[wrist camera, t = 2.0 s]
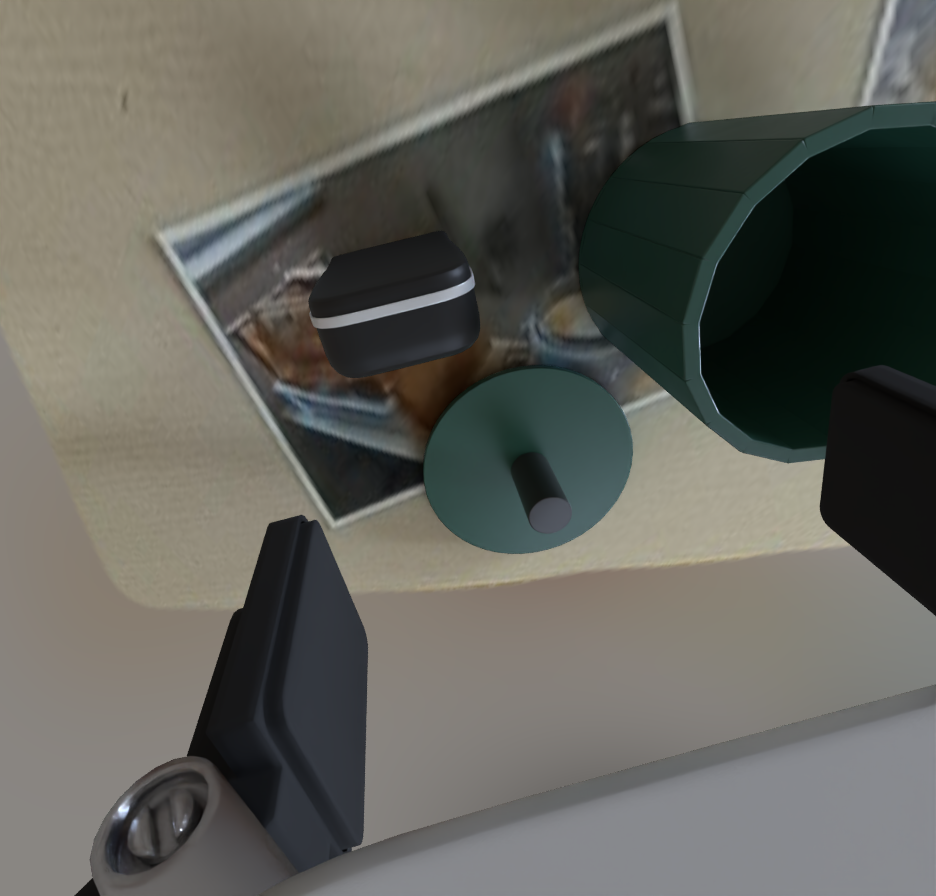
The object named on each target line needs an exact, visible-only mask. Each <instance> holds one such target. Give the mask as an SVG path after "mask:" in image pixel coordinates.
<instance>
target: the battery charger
mask: <svg viewBox="0 0 936 896" xmlns="http://www.w3.org/2000/svg"><path fill="white" fill-rule="evenodd" d="M474 285H475V281H474V276H473V272H472V270H471V268H470V266H469V264H468V261H467V259H466V257H465V255H464V254H463V253H462V251H461V250H460V249H459V248H458V247H457V246H456V245H455V244H454V243H453V242H452V241H450V240H449V238H448V236H447V234H446V233H445V232H444V231H436V232H432V233H428V234H424V235H420V236H415V237H411V238H407V239H403V240H399V241H395V242H391V243H387V244H383V245H379V246H375V247H371V248H367V249H363V250H359V251H355V252H351V253H347V254H343V255H339V256H335V257H333V258H332V259H331V262H330V264H329V266H328V268H327V270H326V271H325V272H324V273H323V275H322V276H321V277H320V279H319V280H318V282H317V283H316V285H315V286H314V288H313V290H312V292H311V295H310V297H309V301H308V302H309V307H310V318H311V321H312V323H313V326H314V327H316V328H317V331H318V334H319V337H320V339H321V342H322V345H323V348H324V351H325V353H326V356H327V358H328V360H329V362H330V365H331V366H332V367H333V368H334V369H335V370H336V371H337V372H338V373H339V374H341V375H343V376H346V377H350V378H361V377H367V376H372V375H376V374H380V373H384V372H388V371H392V370H396V369H401V368H405V367H409V366H413V365H417V364H421V363H425V362H429V361H433V360H437V359H440V358H444V357H448V356H452V355H456V354H458V353H461V352H463V351H465V350H466V349H468V348H470V347H471V346H472V345H473V344H474V342H475V341H476V340H477V338H478V336H479V331H480V317H479V311H478V306H477V301H476V296H475V291H474Z"/></svg>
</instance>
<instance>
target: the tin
mask: <svg viewBox="0 0 936 896" xmlns="http://www.w3.org/2000/svg"><path fill="white" fill-rule="evenodd" d="M579 279H580V286H581V291H582V296H583V299H584V302H585V305H586V307H587V310H588V312H589V314H590V316H591V318H592V320H593V321H594V323H595V324H596V326H597V327H598V328H599V330H600V332H601V334H602V335H603V336H604V337H605V338H606V339H607V340H608V341H610V342H611V343H612V344H613V345H614V346H615V347H617V348H618V349H619V350H620V351H621V352H622V353H623V354H625V355H626V356H627V357H628V358H629V359H630V360H631V361H633V362H634V363H635V364H636V365H637V366H638V367H640V368H641V369H642V370H643V371H644V372H645V373H646V374H648V375H649V376H650V377H651V378H652V379H653V380H655V381H656V382H657V383H658V384H659V385H660V386H661V387H663V388H664V389H665V390H666V391H667V392H668V393H669V394H671V395H672V396H673V397H674V398H675V399H676V400H678V401H679V402H680V403H681V404H682V405H683V406H684V407H686V408H687V409H688V410H689V411H690V412H691V413H693V414H694V415H695V416H696V417H697V418H698V419H699V420H701V421H702V422H703V423H704V424H705V425H706V426H708V427H709V428H710V429H711V430H713V431H714V432H715V433H717V434H718V435H719V436H720V437H722V438H723V439H724V440H726V441H727V442H728V443H729V444H731V445H732V446H733V447H735V448H736V449H737V450H739V451H740V452H742V453H746V454H750V455H755V456H759V457H763V458H767V459H772V460H776V461H780V462H784V463H795V462H803V461H812V460H821V459H825V455H826V446H827V437H828V428H829V419H830V410H831V401H832V393H833V389H834V388H835V386H837V385H838V384H839V383H840V380H841V379H842V377H843V376H844V375H846V374H847V373H851V372H855V371H858V370H862V369H866V368H870V367H874V366H879V365H884V366H889V367H891V368H893V369H896V370H898V371H900V372H903V373H905V374H908V375H910V376H912V377H915V378H917V379H920V380H922V381H924V382H927V383H929V384H932V385H934V386H936V101H935V102H919V103H903V104H888V105H873V106H862V107H851V108H841V109H830V110H820V111H809V112H799V113H788V114H777V115H767V116H756V117H746V118H735V119H725V120H714V121H703V122H693V123H688V124H685V125H683V126H681V127H678V128H675V129H673V130H670V131H667V132H665V133H663V134H661V135H659V136H657V137H655V138H653V139H652V140H650V141H649V142H647V143H646V144H644V145H643V146H641V147H640V148H639V149H637V150H636V151H635V152H634V153H633V154H632V155H630V156H629V157H628V158H627V159H626V160H625V161H624V162H623V163H622V164H621V165H620V166H619V167H618V168H617V170H616V171H615V172H614V173H613V174H612V176H611V177H610V178H609V180H608V181H607V182H606V184H605V185H604V187H603V188H602V190H601V192H600V193H599V195H598V197H597V199H596V200H595V202H594V204H593V207H592V209H591V211H590V214H589V216H588V218H587V221H586V225H585V228H584V231H583V235H582V240H581V246H580V251H579Z"/></svg>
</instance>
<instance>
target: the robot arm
mask: <svg viewBox="0 0 936 896" xmlns="http://www.w3.org/2000/svg"><path fill="white" fill-rule="evenodd" d="M820 512H821V516H822V518H823V520H824V522H825V523H826V524H827V525H828V526H829V527H830V528H831V529H832V530H833V531H834V532H836V533H837V534H838V535H839V536H840V537H842V538H843V539H844V540H845V541H846V542H848V543H849V544H850V545H851V546H852V547H854V548H855V549H856V550H857V551H858V552H860V553H861V554H862V555H863V556H865V557H866V558H867V559H868V560H869V561H871V562H872V563H873V564H874V565H875V566H876V567H878V568H879V569H880V570H881V571H883V572H884V573H885V574H886V575H887V576H889V577H890V578H891V579H892V580H893V581H895V582H896V583H897V584H898V585H899V586H900V587H902V588H903V589H904V590H905V591H906V592H908V593H909V594H910V595H911V596H912V597H914V598H915V599H916V600H917V601H919V602H920V603H921V604H922V605H924V606H925V607H926V608H927V609H928V610H929V611H931V612H932V613H933V614H934V615H935V616H936V386H934V385H932V384H929V383H927V382H924V381H922V380H920V379H917V378H915V377H912V376H910V375H908V374H905V373H903V372H900V371H898V370H896V369H893V368H891V367H889V366H884V365H879V366H874V367H870V368H866V369H862V370H858V371H855V372H851V373H847V374H846V375H844V376H843V377H842V379H841V380H840V383H839V384H838V385H837V386H835V388H834V389H833V393H832V401H831V410H830V419H829V428H828V437H827V446H826V455H825V464H824V473H823V482H822V491H821V500H820ZM367 663H368V643H367V637H366V633H365V629H364V626H363V624H362V622H361V619H360V617H359V615H358V612H357V610H356V608H355V605H354V603H353V601H352V598H351V596H350V594H349V591H348V589H347V586H346V584H345V582H344V579H343V577H342V575H341V572H340V570H339V568H338V565H337V563H336V561H335V558H334V556H333V554H332V551H331V549H330V547H329V544H328V542H327V540H326V537H325V535H324V532H323V530H322V528H321V526H320V524H319V522H318V521H317V520H313V521H309V522H308V520H307V519H306V517H305V516H303V515H299V516H295V517H291V518H287V519H284V520H280V521H276V522H272V523H270V524H269V525H268V527H267V531H266V534H265V537H264V540H263V544H262V547H261V550H260V554H259V557H258V560H257V564H256V567H255V570H254V574H253V577H252V580H251V584H250V587H249V590H248V594H247V597H246V600H245V604H244V607H243V608H241V609H238V610H237V611H236V612H235V613H234V614H233V616H232V618H231V620H230V623H229V626H228V629H227V632H226V636H225V639H224V642H223V645H222V648H221V651H220V654H219V657H218V660H217V664H216V667H215V670H214V673H213V676H212V679H211V682H210V685H209V689H208V692H207V695H206V698H205V701H204V704H203V707H202V710H201V713H200V716H199V720H198V723H197V726H196V729H195V732H194V735H193V739H192V741H191V745H190V748H189V751H188V754H187V757H182V758H177V759H173V760H171V761H169V762H167V763H165V764H162V765H160V766H158V767H156V768H154V769H153V770H151V771H150V772H148V773H147V774H146V775H144V776H143V777H141V778H140V779H139V780H137V781H136V782H135V783H134V784H133V785H132V786H131V787H130V788H129V789H128V790H127V791H126V792H125V793H124V794H123V795H122V796H121V797H120V798H119V799H118V800H117V802H116V803H115V804H114V806H113V807H112V808H111V810H110V811H109V812H108V814H107V815H106V817H105V818H104V820H103V822H102V824H101V826H100V828H99V831H98V832H97V834H96V836H95V838H94V843H93V847H92V851H91V856H90V864H91V871H92V877H93V878H92V879H91V880H90V881H89V882H88V883H87V884H86V885H85V886H84V887H83V888H82V889H81V890H80V891H79V892H78V893H77V894H76V895H75V896H936V685H932V686H928V687H925V688H921V689H917V690H914V691H910V692H906V693H903V694H899V695H895V696H892V697H888V698H884V699H881V700H877V701H873V702H869V703H865V704H862V705H858V706H854V707H851V708H847V709H843V710H840V711H836V712H832V713H829V714H825V715H821V716H818V717H814V718H810V719H807V720H803V721H799V722H796V723H792V724H788V725H785V726H781V727H777V728H774V729H770V730H766V731H763V732H759V733H756V734H752V735H748V736H745V737H741V738H737V739H734V740H730V741H726V742H722V743H719V744H715V745H711V746H708V747H704V748H701V749H697V750H693V751H690V752H686V753H683V754H679V755H675V756H672V757H668V758H665V759H661V760H657V761H654V762H650V763H647V764H643V765H640V766H636V767H632V768H629V769H625V770H621V771H618V772H615V773H611V774H608V775H603V776H600V777H596V778H593V779H589V780H586V781H582V782H579V783H575V784H572V785H568V786H564V787H560V788H557V789H554V790H550V791H546V792H542V793H539V794H535V795H532V796H528V797H525V798H521V799H518V800H514V801H511V802H507V803H504V804H501V805H497V806H494V807H491V808H487V809H484V810H481V811H477V812H474V813H471V814H467V815H464V816H460V817H457V818H454V819H450V820H447V821H444V822H440V823H437V824H433V825H431V826H427V827H424V828H420V829H417V830H413V831H410V832H407V833H403V834H400V835H397V836H394V837H391V838H389V839H386V840H383V841H380V842H377V843H374V844H371V845H368V846H366V847H363V848H360V849H357V850H354V851H352V847H355V846H358V845H360V844H361V843H362V839H363V831H364V791H365V789H364V787H365V749H366V746H365V745H366V708H367V667H368V665H367Z"/></svg>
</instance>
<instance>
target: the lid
mask: <svg viewBox="0 0 936 896" xmlns="http://www.w3.org/2000/svg"><path fill="white" fill-rule="evenodd" d="M632 456H633V444H632V436H631V431H630V427H629V424H628V421H627V418H626V416H625V415H624V413H623V411H622V409H621V407H620V406H619V405H618V403H617V402H616V401H615V399H614V398H613V397H612V396H611V395H610V394H609V393H608V392H607V391H606V390H605V389H604V388H603V387H602V386H601V385H599V384H598V383H596V382H595V381H594V380H592V379H591V378H589V377H587V376H585V375H583V374H581V373H579V372H576V371H573V370H570V369H567V368H562V367H556V366H549V365H529V366H520V367H515V368H510V369H506V370H503V371H500V372H497V373H494V374H492V375H490V376H488V377H486V378H484V379H481V380H479V381H478V382H476V383H475V384H473V385H472V386H470V387H468V388H467V389H466V390H464V391H463V392H462V393H461V394H460V395H458V396H457V397H456V398H455V399H454V400H453V401H452V402H451V403H450V404H449V405H448V406H447V407H446V409H445V410H444V411H443V413H442V414H441V416H440V417H439V418H438V420H437V422H436V423H435V425H434V427H433V429H432V431H431V433H430V436H429V439H428V441H427V444H426V448H425V453H424V461H423V475H424V485H425V489H426V493H427V497H428V499H429V502H430V504H431V507H432V508H433V510H434V512H435V513H436V515H437V517H438V518H439V519H440V520H441V521H442V523H443V524H444V525H445V526H446V527H447V528H448V529H449V530H450V531H451V532H453V533H454V534H455V535H457V536H458V537H459V538H461V539H462V540H464V541H466V542H468V543H470V544H472V545H474V546H477V547H479V548H482V549H485V550H489V551H494V552H499V553H508V554H524V553H533V552H538V551H543V550H548V549H551V548H554V547H557V546H560V545H562V544H564V543H567V542H569V541H571V540H573V539H575V538H576V537H578V536H580V535H582V534H583V533H585V532H586V531H587V530H589V529H590V528H592V527H593V526H594V525H595V524H596V523H597V522H599V521H600V520H601V519H602V518H603V517H604V516H605V515H606V514H607V512H608V511H609V510H610V509H611V508H612V506H613V505H614V504H615V502H616V501H617V499H618V498H619V496H620V494H621V492H622V491H623V489H624V487H625V484H626V482H627V479H628V476H629V473H630V469H631V464H632Z"/></svg>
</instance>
